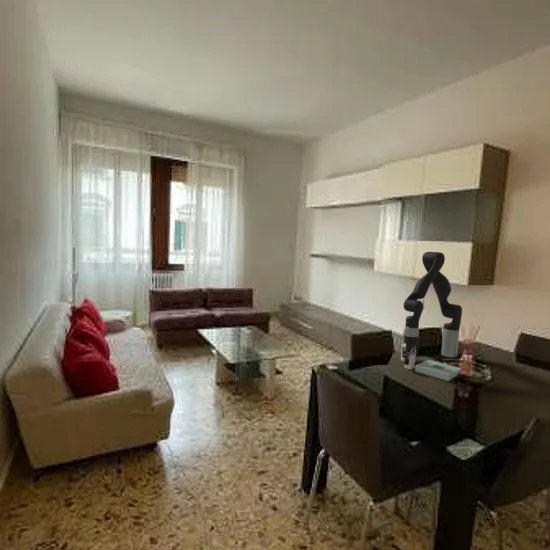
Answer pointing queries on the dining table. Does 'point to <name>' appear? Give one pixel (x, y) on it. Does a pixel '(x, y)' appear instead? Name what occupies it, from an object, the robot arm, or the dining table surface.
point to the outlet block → (437, 370)
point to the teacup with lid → (404, 354)
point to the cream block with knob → (410, 362)
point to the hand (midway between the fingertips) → (409, 363)
